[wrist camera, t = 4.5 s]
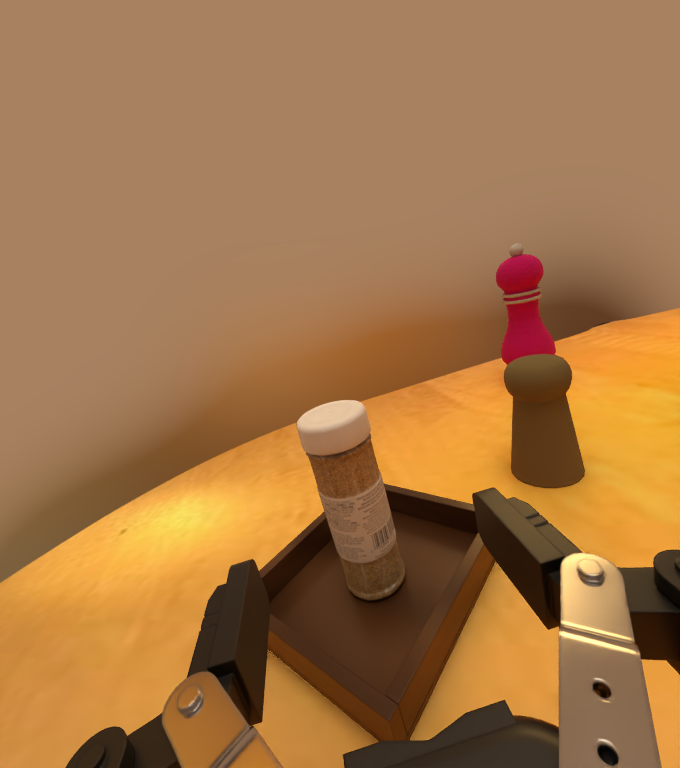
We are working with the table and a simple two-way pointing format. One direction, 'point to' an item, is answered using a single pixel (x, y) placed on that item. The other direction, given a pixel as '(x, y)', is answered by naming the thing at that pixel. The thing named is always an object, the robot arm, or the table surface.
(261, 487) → the table surface
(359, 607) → the tray
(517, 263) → the pepper mill
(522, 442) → the olive chess pawn
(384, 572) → the sprinkles bottle
